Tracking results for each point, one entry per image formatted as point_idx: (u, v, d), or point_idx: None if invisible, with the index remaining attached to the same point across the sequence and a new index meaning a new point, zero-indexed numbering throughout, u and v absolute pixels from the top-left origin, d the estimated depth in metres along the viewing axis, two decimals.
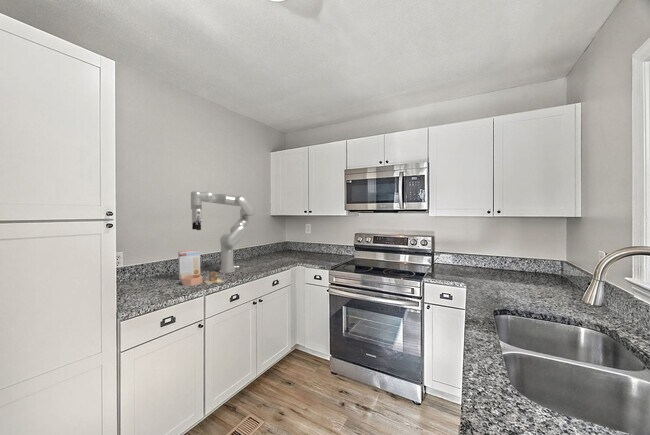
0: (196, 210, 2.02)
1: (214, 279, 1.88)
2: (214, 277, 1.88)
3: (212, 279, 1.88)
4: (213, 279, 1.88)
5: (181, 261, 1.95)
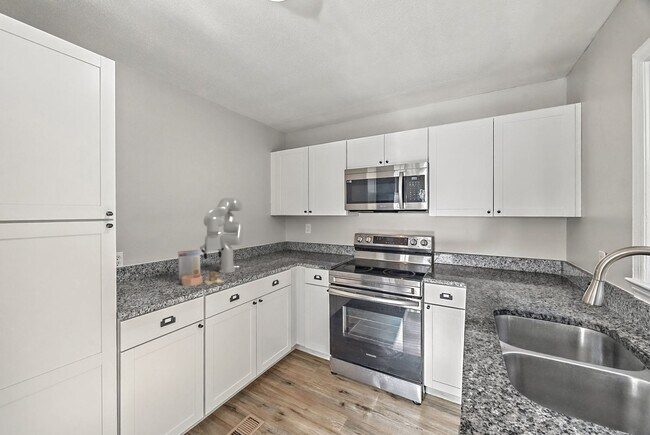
0: None
1: (214, 279, 1.88)
2: (214, 277, 1.88)
3: (212, 279, 1.88)
4: (213, 279, 1.88)
5: (181, 261, 1.95)
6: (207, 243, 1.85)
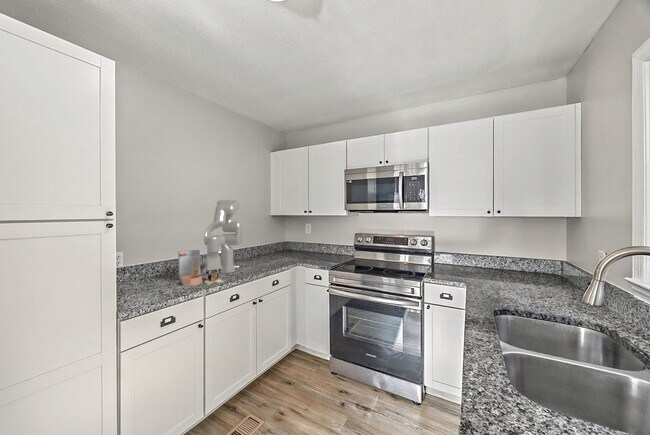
0: (219, 256, 1.91)
1: (214, 279, 1.88)
2: (214, 277, 1.88)
3: (212, 279, 1.88)
4: (213, 279, 1.88)
5: (181, 261, 1.95)
6: (207, 263, 1.85)
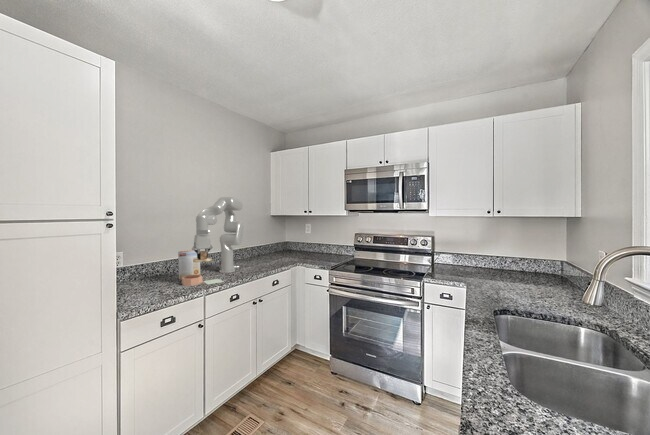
0: None
1: (203, 258, 1.86)
2: (203, 256, 1.86)
3: (201, 258, 1.85)
4: (202, 258, 1.85)
5: (181, 261, 1.95)
6: (197, 242, 1.83)
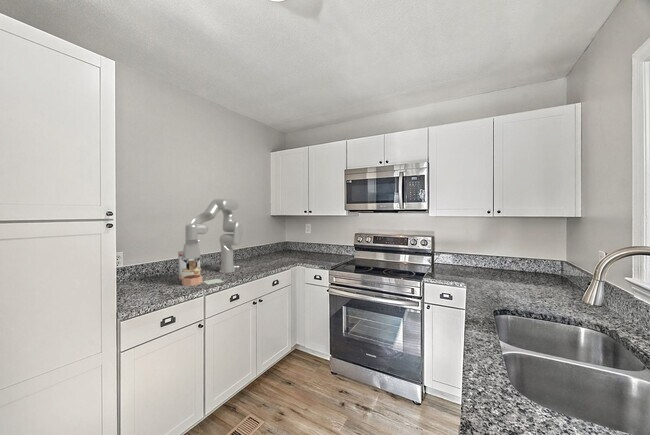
0: (198, 245, 1.87)
1: (192, 268, 1.84)
2: (192, 266, 1.84)
3: (190, 268, 1.83)
4: (191, 268, 1.83)
5: (181, 261, 1.95)
6: (185, 252, 1.81)
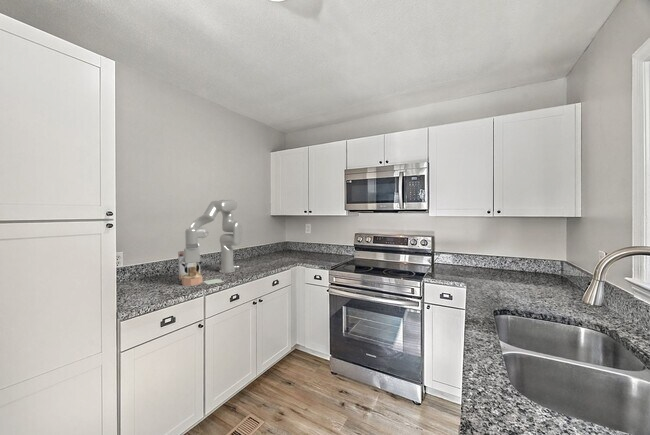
0: (198, 249, 1.87)
1: (193, 274, 1.84)
2: (193, 272, 1.84)
3: (191, 274, 1.83)
4: (192, 274, 1.84)
5: None
6: (185, 256, 1.81)
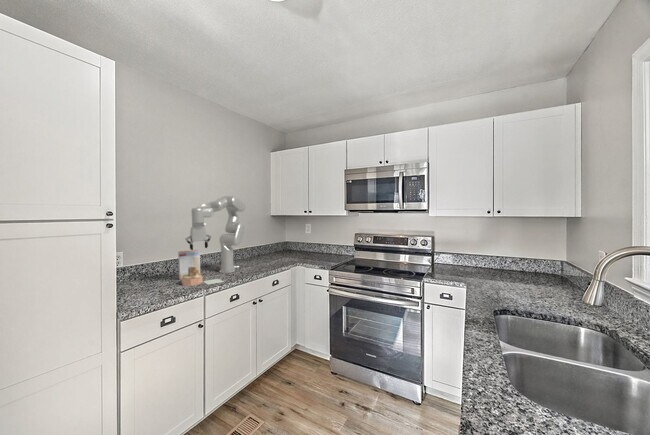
0: (204, 227, 1.93)
1: (193, 274, 1.84)
2: (193, 272, 1.84)
3: (191, 274, 1.83)
4: (192, 274, 1.84)
5: (181, 261, 1.95)
6: (192, 234, 1.87)
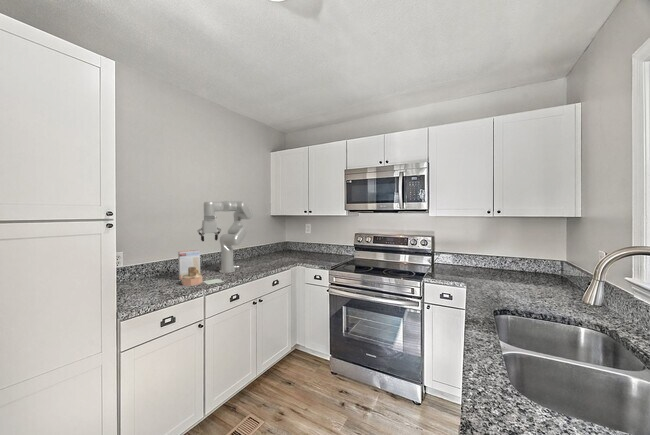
0: (215, 221, 2.03)
1: (193, 274, 1.84)
2: (193, 272, 1.84)
3: (191, 274, 1.83)
4: (192, 274, 1.84)
5: (181, 261, 1.95)
6: (204, 226, 1.97)
